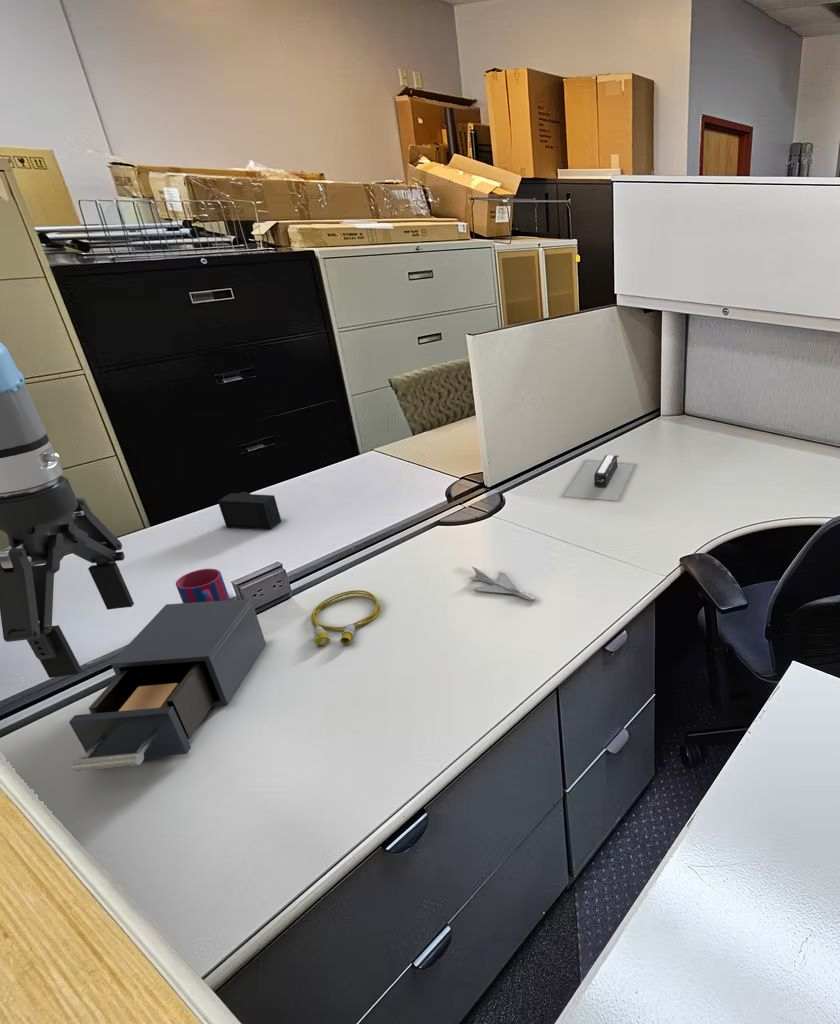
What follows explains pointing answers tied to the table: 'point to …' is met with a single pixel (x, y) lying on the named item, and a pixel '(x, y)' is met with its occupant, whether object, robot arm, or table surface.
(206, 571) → the mug
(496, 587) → the toy airplane
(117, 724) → the drawer
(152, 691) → the block
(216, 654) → the cabinet
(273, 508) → the digital camera
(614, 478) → the bus
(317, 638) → the extension cord
